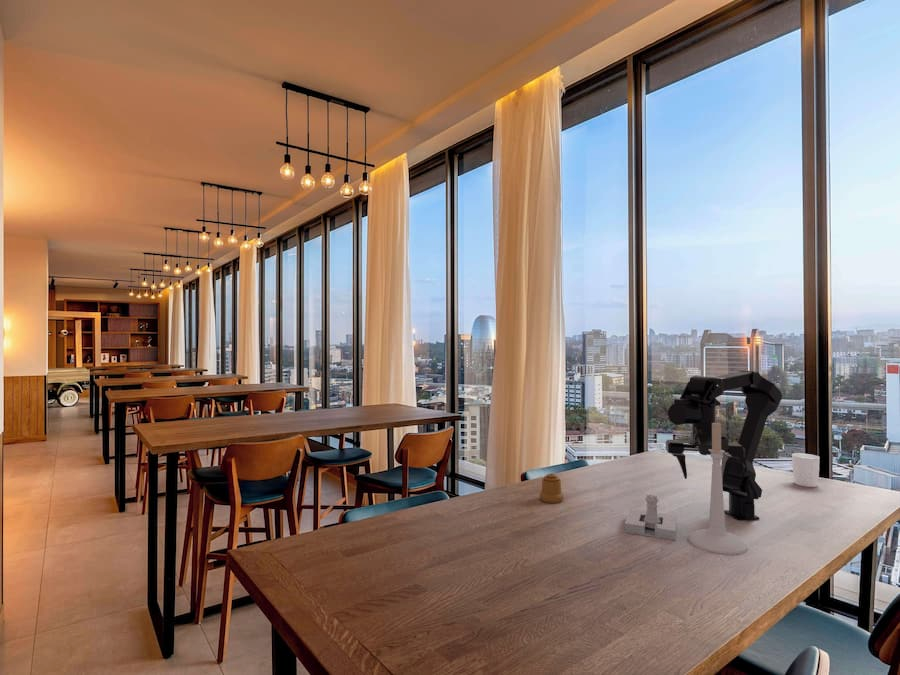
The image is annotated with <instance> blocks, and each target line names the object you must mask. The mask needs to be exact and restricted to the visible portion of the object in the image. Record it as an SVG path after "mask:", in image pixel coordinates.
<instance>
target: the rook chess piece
mask: <svg viewBox="0 0 900 675" xmlns="http://www.w3.org/2000/svg"><path fill="white" fill-rule="evenodd" d="M644 500H645V501H646V511H647V513H646V516H645V518H644V520H643V521H644V522H646V527H647V528H649V529H655V524H660V523H661V521H660V520H659V517H658V514H657V513H658V503H659V499H658V497H657V495H652V494H649V495H648V494H647V495H646V498H645V499H644Z"/></svg>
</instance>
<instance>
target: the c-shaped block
mask: <svg viewBox="0 0 900 675" xmlns="http://www.w3.org/2000/svg"><path fill="white" fill-rule="evenodd" d="M646 513H647V510H639V509H631V508H630V509H629V510H628V513H627V516H626V519H625V522H624V533H627V534H632V535H637V536H638V535H639V536H644V535H645V537H650V536H651V538H656V537H657V539H662V540H668V541H676V540H677V526H678V524H677V522H678V521H677V515H675V514H669V513H668V514H667V513H659V512H657V514H658V517H659V520H660V521H661V523H660V524H655V529H649V528H647V527H646V522H644V521H643V520H644V518H645V516H646Z"/></svg>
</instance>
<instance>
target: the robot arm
mask: <svg viewBox="0 0 900 675" xmlns="http://www.w3.org/2000/svg"><path fill="white" fill-rule="evenodd" d="M734 389H740V391H741V393H742V394H743V395H744V397H745V399H744V402H745V405H746V408H747V413H746V417H745V419H744V422H743V425H742V428H741V432H740V435H739V437H738V440H737V442H729V438H728V436H725V435H724V436H723V435H721V450H724V451H725V452H724V453H723V454H722V456H723V458H722V459H721V466H722V467H721V470H722V486H723V493H725V492H726V493H728V510H727V509H724V514H727V515H728V516H730V517H732V518H734V519H735V520H738V521H739V520H740V521H742V520H744V521H745V520H748V521H749V520H760V517H759V516H758V515H755V512H756V510H755V506H756V505H755V500H759V498H761V497H762V493H763V489H762V488H761V487H760V485H759V484H758V483H757V481H756V476H757V474H756V473H757V472H756V470H755V467H754V464H753V463H754V460H755V457H756V453H757V451H758V447H759V445H760V441H761V438H762V435H763V432H764V428H765V426H766V422H767V420H768V417H770V416H771V415H773V413H774V412H775V411H777V410H778V408H779V405H780V403H781V401H782V398H783V394H782V391H781V390H780V389H779V388H778V386H776V384H774V383H773V382H772V381H770V380H768V379H767V378H765V377H763V376H762V374H760V373H759V372H757V371H755V370H740V371H737V372H733V373H732V372H731V373H727V374H723V375H718V376H701V375H698V376H697V375H693V376H690V378H689V381H688V382H687V383H686V386H685V388H684V390H683V391H682V393H681V396H680V397H679V398H674V399H673V403H672V404H671V405H670V407H669V408H668V410H667V417H668V419H669V421H670V422H671V424H673V425H675V426H683V425H691V442H692V443H684V442H683V441H682V440H680V439H667V440H666V441H665V450H666V452H667V453H668V454H671V455H672V457H676V460H677V461H678V464H679V466H680V469H681V472H682V475H683V478H684V479H685V480H687V479H688V472H687V463H686V455H685V453H684V452H686V451H687V452H688V451H690V452H698V453H699V454H700V455H702V456H711V452H710V451H709V449H712V423H716V422H717V421H716V419H717V418H716V416H717V415H716V407H718V406H721V405H722V403H721V402H720V401H719V400H718V399H717V398H718V397H721V396H722V395H723V394H724V392H726V391H731V390H734Z"/></svg>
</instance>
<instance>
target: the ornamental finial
mask: <svg viewBox="0 0 900 675" xmlns="http://www.w3.org/2000/svg"><path fill="white" fill-rule="evenodd" d="M541 481H542V482H541V491H540V493H539V499H540V500H541V502H544V503H546V504H559V503H562V502H563V500H564V499H565V496H564V494H563V491H562V481H561V479H560V478H559V476H557V475H556V474H555V473H548V474H547V475H545V476H544V477H543V478H542V479H541Z"/></svg>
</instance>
